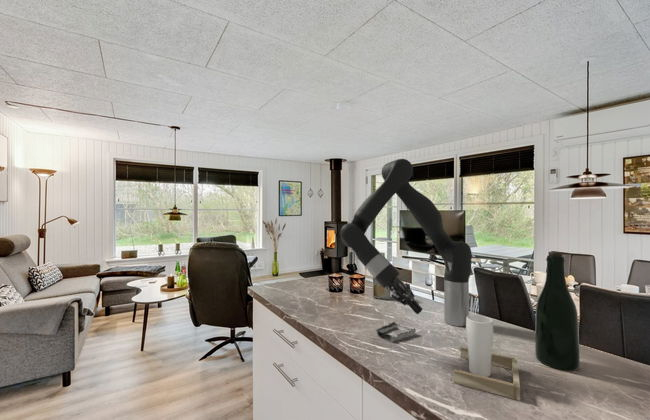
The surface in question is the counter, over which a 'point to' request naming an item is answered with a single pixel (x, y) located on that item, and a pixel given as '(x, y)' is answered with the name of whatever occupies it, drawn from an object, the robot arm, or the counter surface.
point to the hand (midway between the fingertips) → (420, 311)
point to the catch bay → (489, 383)
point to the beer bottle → (556, 319)
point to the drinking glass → (479, 344)
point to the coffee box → (380, 290)
